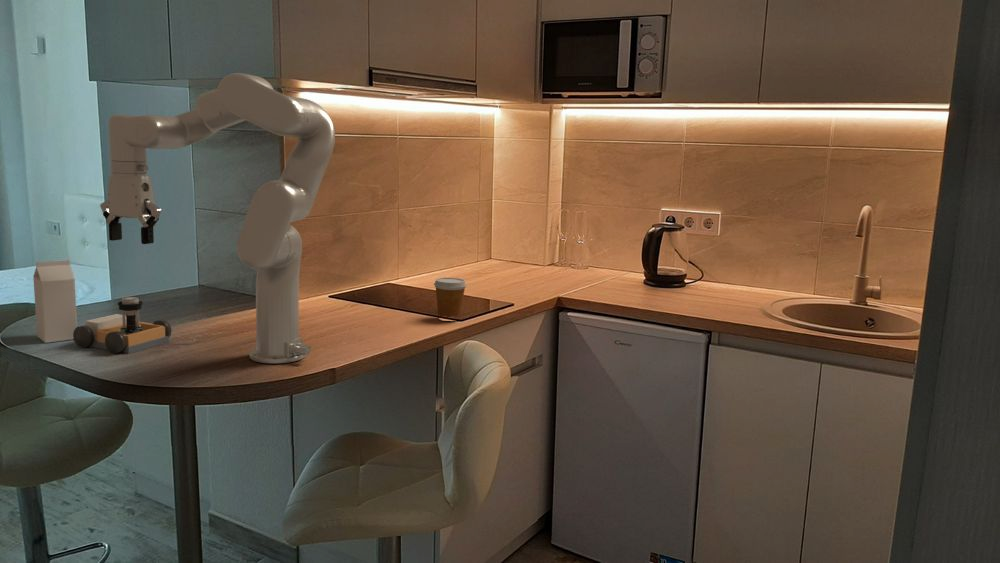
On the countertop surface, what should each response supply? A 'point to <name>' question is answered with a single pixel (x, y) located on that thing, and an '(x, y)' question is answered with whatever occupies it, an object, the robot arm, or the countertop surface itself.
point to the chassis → (120, 334)
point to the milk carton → (55, 301)
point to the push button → (130, 315)
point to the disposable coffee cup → (449, 296)
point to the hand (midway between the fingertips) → (131, 241)
